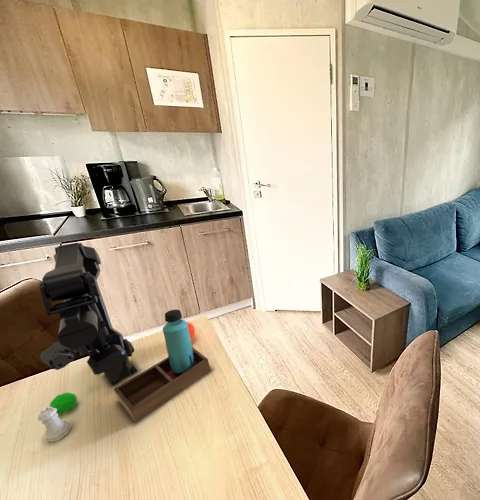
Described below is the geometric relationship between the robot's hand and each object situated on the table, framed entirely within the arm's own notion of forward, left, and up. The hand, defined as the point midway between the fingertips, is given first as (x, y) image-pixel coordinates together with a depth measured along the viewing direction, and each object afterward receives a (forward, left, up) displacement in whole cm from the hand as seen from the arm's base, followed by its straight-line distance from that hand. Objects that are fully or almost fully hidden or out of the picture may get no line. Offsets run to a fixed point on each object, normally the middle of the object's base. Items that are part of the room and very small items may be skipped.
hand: (108, 372), depth 71 cm
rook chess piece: (-5, -12, -13) cm, 18 cm away
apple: (-12, +22, -13) cm, 28 cm away
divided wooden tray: (+2, +10, -13) cm, 17 cm away
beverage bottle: (+2, +15, -12) cm, 19 cm away
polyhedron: (-12, -9, -13) cm, 20 cm away
